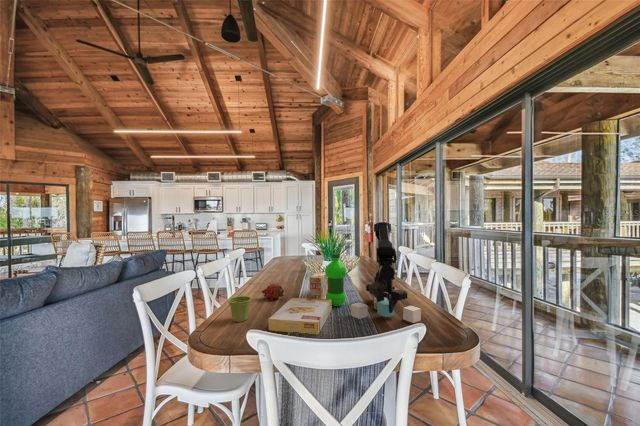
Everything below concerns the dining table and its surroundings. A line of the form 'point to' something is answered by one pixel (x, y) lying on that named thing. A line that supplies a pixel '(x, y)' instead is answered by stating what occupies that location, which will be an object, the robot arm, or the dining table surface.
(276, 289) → the dragon fruit
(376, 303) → the light ash cube
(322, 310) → the cereal box
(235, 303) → the plant pot
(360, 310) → the pale grey cube
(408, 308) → the cream cube
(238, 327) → the dining table surface
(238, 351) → the dining table surface
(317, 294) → the printed food carton
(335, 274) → the plastic bottle
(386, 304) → the teal cube
